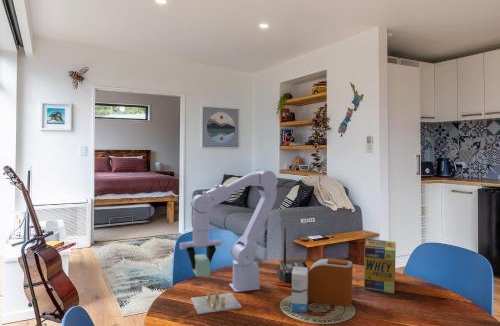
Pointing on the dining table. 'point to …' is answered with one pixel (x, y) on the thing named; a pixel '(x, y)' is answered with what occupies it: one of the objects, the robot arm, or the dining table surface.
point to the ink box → (299, 289)
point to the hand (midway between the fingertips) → (200, 268)
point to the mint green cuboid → (202, 265)
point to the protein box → (379, 266)
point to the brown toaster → (330, 282)
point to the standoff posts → (215, 299)
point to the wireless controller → (288, 266)
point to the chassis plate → (205, 304)
